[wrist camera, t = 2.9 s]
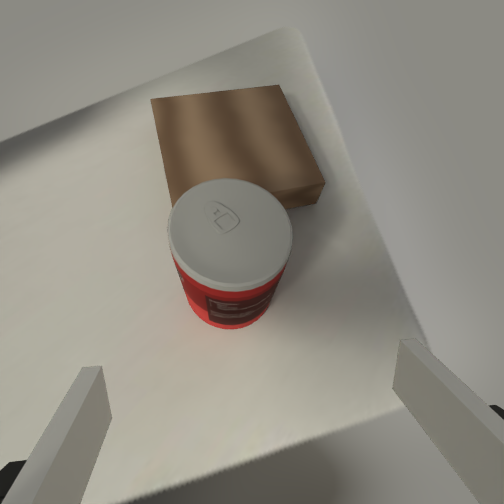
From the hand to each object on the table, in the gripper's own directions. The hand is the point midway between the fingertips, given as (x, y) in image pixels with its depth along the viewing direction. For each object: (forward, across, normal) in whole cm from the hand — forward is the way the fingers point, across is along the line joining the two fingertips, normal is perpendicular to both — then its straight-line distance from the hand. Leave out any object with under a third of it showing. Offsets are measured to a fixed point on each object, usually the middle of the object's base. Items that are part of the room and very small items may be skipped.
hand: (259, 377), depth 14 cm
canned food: (+15, -1, -3) cm, 15 cm away
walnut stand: (+26, +1, +8) cm, 27 cm away
